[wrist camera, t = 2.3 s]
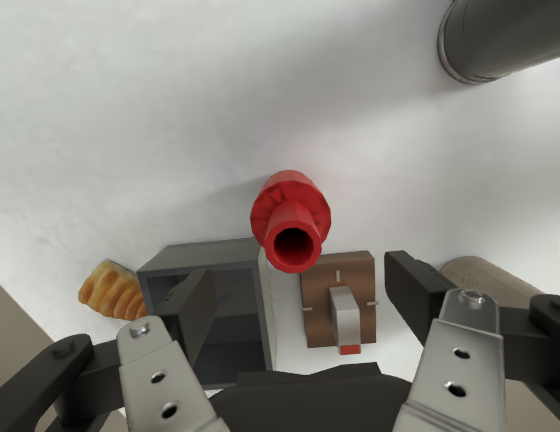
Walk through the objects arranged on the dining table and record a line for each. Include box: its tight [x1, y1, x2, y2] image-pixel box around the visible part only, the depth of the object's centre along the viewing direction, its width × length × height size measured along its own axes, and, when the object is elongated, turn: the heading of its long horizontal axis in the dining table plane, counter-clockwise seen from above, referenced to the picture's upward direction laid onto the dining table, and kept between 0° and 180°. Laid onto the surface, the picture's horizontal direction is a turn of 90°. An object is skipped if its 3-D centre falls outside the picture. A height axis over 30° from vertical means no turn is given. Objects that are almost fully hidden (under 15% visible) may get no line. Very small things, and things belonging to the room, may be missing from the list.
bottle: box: [250, 170, 331, 273], centre depth 24 cm, size 7×7×17 cm
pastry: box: [78, 261, 148, 321], centre depth 34 cm, size 9×7×4 cm
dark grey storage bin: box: [136, 237, 277, 390], centre depth 32 cm, size 16×13×8 cm
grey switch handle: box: [329, 286, 361, 355], centre depth 30 cm, size 6×2×5 cm, turn 6°
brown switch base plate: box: [300, 251, 379, 348], centre depth 34 cm, size 12×10×3 cm
